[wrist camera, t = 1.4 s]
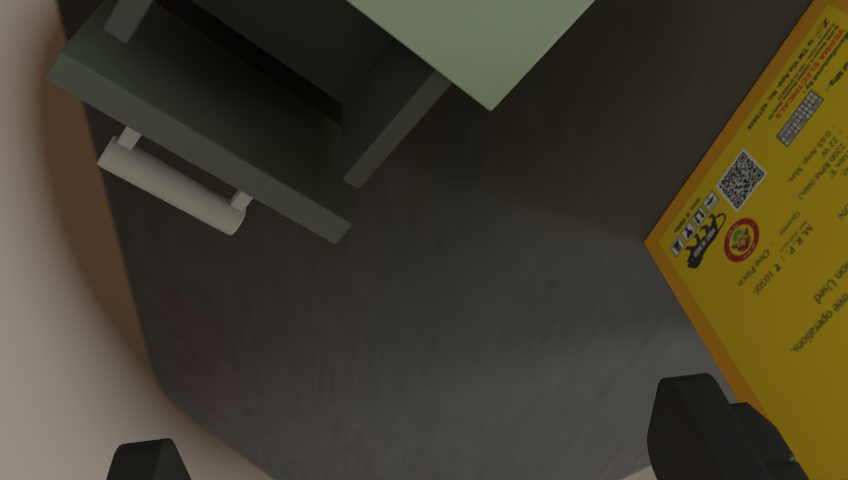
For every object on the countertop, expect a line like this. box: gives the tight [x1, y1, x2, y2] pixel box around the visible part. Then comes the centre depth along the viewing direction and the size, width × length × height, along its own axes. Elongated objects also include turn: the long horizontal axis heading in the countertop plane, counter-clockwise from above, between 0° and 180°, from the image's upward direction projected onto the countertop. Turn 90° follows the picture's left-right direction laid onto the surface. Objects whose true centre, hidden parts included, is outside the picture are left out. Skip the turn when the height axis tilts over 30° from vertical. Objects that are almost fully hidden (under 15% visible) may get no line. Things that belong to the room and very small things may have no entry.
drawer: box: [45, 0, 453, 244], centre depth 26 cm, size 18×11×8 cm, turn 140°
